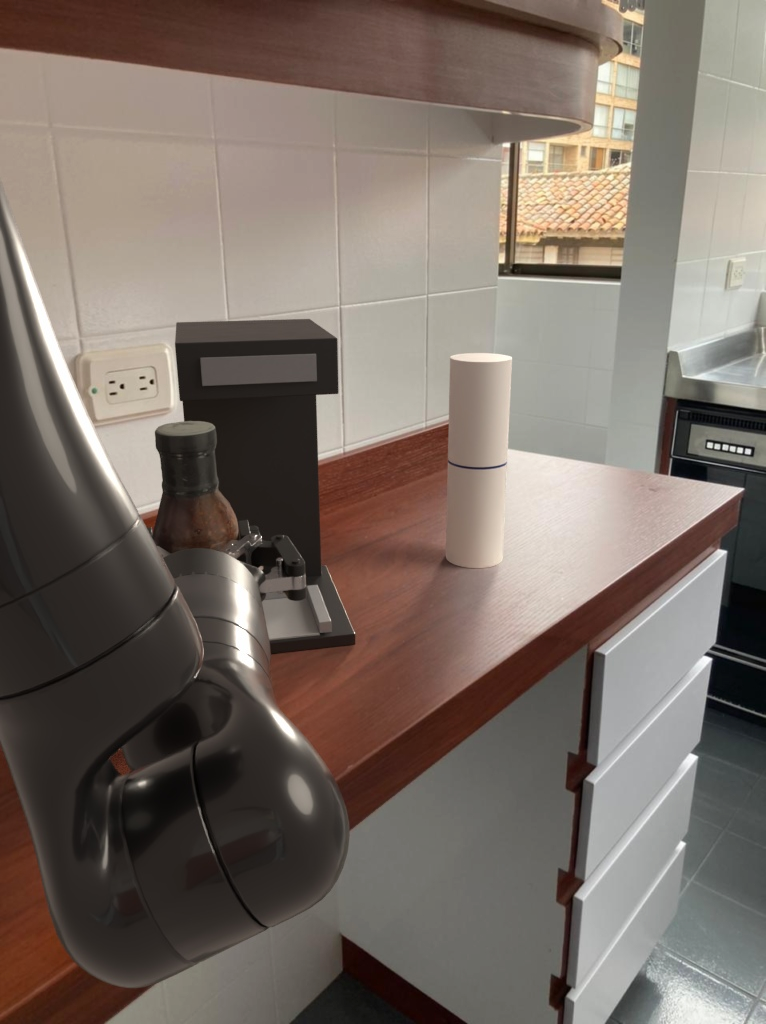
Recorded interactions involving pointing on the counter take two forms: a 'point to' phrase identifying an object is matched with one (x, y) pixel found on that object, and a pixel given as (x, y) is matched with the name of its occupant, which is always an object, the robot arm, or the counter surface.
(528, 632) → the counter surface
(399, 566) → the counter surface
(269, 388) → the coffee maker
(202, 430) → the sauce bottle
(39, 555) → the robot arm
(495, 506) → the cylindrical container
